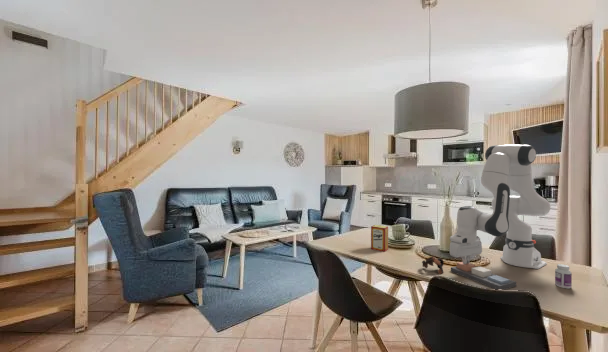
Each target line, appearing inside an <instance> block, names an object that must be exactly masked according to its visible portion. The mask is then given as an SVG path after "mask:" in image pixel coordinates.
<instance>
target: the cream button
mask: <svg viewBox="0 0 608 352" xmlns="http://www.w3.org/2000/svg"><path fill="white" fill-rule="evenodd" d="M472 273H473V274H475V275H478V276H481V277H483V278H484V277H488V276H491V273H492V269H488V268H485V267H483V266H475V267H474V268H472Z"/></svg>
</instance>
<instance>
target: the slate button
mask: <svg viewBox="0 0 608 352" xmlns="http://www.w3.org/2000/svg"><path fill="white" fill-rule="evenodd" d="M497 275H498V274H495V275H494V276H490V277H488V279H489V280H491V281H494V282H497V283H499V284H505V283H509V278H507V279H506V277H504V278H503V276H501V277H500V275H498V276H497Z"/></svg>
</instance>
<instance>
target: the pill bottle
mask: <svg viewBox="0 0 608 352" xmlns="http://www.w3.org/2000/svg"><path fill="white" fill-rule="evenodd" d="M556 267H557V268H556V269H555V270H554V283H555V285H556V287H560V288H562V289H572V286H573V285H572V275H573V274H572V272H571V270H570V266H569V265H567V264H561V263H558V264H556Z"/></svg>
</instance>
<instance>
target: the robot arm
mask: <svg viewBox="0 0 608 352" xmlns="http://www.w3.org/2000/svg"><path fill="white" fill-rule="evenodd" d="M536 157H537V151H536V148H535V147H534V146H532V145H529V144H515V143H514V144H513V143H511V144H502V145H498V144H496V145H491V146H489V147H488V148H487V149H486V150H485V154H484V158H485V160H486V161H485V163H484V167H483V170H482V173H481V177H480V183H481V184H482V186H483V187H484V189H486V190H487V191H489V192H490V193H491V194H492V195H493V198H492V200H491V208H492V209H493V210H492V214H491V213H487V212H483V211H481V210H479V209H478V208H476V207H475V206H472V205H465V206H461V207H459V208H458V210H457V214H456V215H457V216H456V224H457V229H456V232H455V233H454V234H453V235H451V236H449V241H450V243H449V255H450V256H451V257H453V258H455V259H456V258H457V259H458V258H461V259H462V262H463V264H469V263H470V261H471V259H472V256H475V255H480V254H482V252H483V246H482V241H481V238H480V236H479V235H478V234H477V233H478V232H477V231H480V232H483V233H486V234H488V235H492V236H493V237H496V238H497V237H502V236H504V235H506V237H505V245H503V248H502V249H503V250H502V256H500V260H501V261H503V262H504V263H506V264H508V265H511V266H516V267H521V268H529V269H536V270H537V269H538V270H539V269H541V268H543V267H544V266H546V265H547V264H548V263H547V262H546V261H544V260H542V255H541V252H540V251H539V250H537V249H536V248H535V246H534V245H535V244H536V243H537V241H536V239H534V240H533V238H532V235H533V234H532V233H533V232H532V230H533V229H532V226H531V225H530V224H529V223H528V222H525V221H524V220H521V219H520V218H519V217H518V216H527V217H543V216H545V217H546V215H547V214H549V213H550V211H551V204H550V202H549V201H548V199H546V198H545V197H542V196H541V195H540V194H539V193H538V192H537V191H536V190H535V189H534V186H533V179H532V164H533V162H535V160H536ZM511 191H512V192H515V193H517V194H519V195H511Z"/></svg>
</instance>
